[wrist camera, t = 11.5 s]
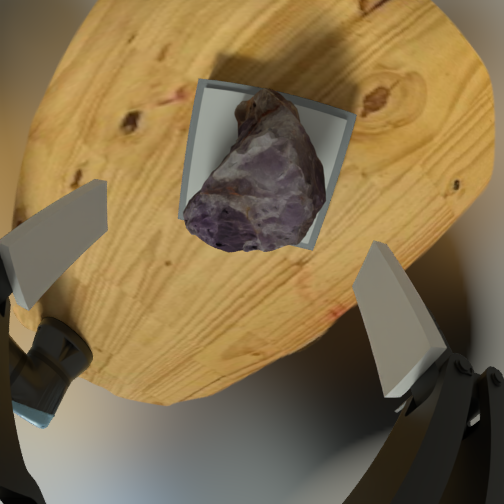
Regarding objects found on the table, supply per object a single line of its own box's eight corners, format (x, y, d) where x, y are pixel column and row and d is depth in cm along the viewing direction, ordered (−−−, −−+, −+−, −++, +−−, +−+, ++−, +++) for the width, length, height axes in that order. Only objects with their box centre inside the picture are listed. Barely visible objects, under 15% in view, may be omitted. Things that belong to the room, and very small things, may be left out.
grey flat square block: (186, 208, 29) (176, 220, 26) (207, 81, 22) (197, 78, 19) (310, 236, 30) (313, 252, 27) (348, 113, 22) (358, 115, 20)
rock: (193, 179, 25) (276, 236, 27) (148, 224, 19) (261, 297, 21) (259, 76, 18) (357, 149, 20) (228, 76, 12) (378, 189, 14)
